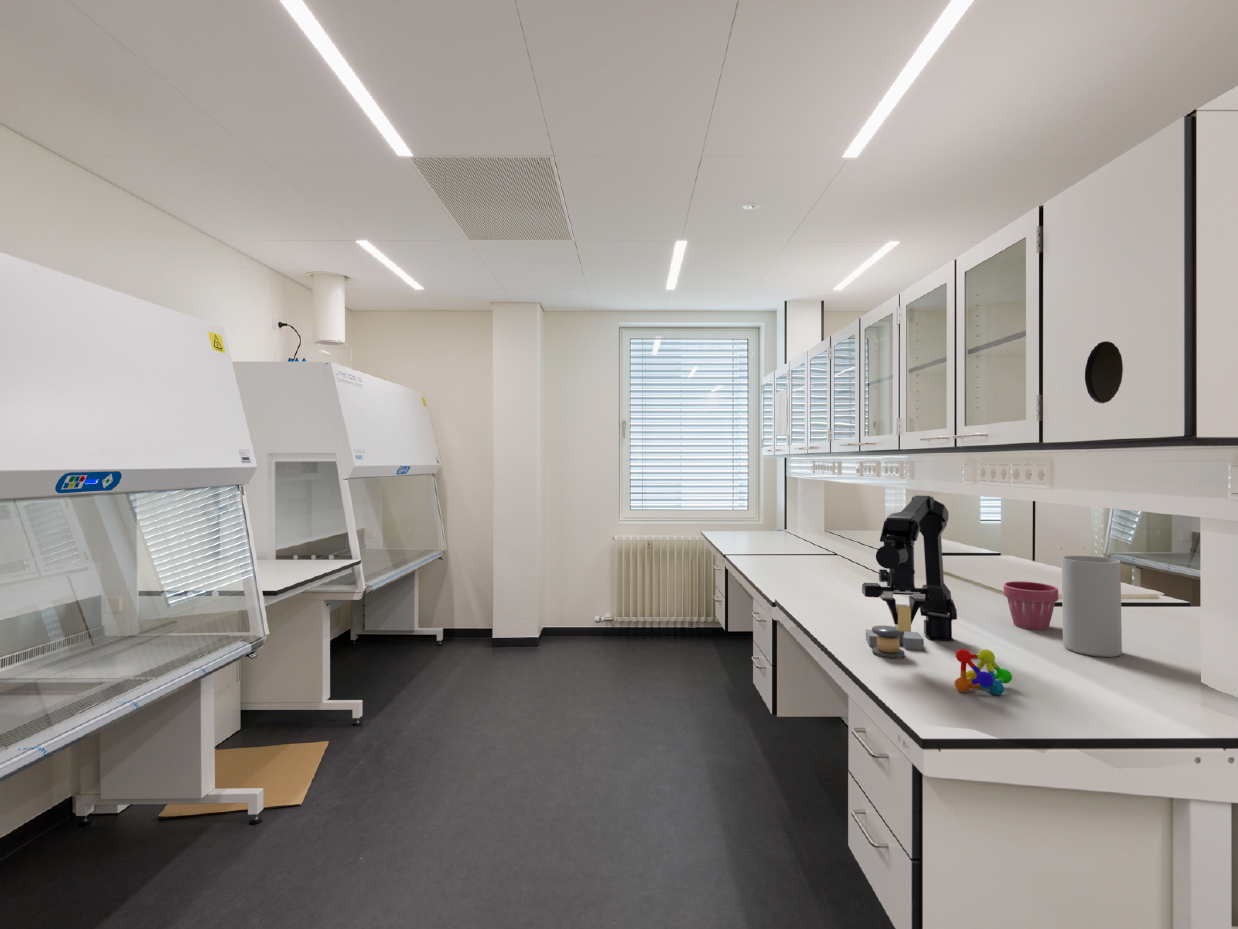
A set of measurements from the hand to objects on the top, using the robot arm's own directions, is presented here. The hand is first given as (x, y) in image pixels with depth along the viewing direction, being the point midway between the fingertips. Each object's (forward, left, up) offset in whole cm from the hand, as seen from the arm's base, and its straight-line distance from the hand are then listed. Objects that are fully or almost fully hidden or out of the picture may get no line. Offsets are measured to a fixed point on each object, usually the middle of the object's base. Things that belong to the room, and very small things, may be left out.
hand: (902, 624), depth 151 cm
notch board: (-1, -17, -10) cm, 20 cm away
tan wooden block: (0, 0, -1) cm, 1 cm away
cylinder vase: (-52, -23, -11) cm, 57 cm away
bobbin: (+2, -8, -10) cm, 13 cm away
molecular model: (-14, +15, -11) cm, 23 cm away
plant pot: (-46, -47, -11) cm, 66 cm away
